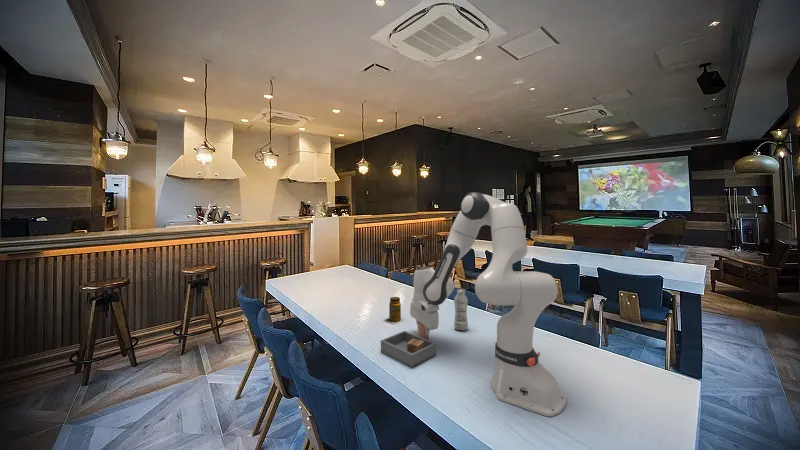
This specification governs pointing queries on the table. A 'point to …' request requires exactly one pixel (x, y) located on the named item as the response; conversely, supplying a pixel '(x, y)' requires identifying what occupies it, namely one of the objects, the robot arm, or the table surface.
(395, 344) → the tote
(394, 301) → the condiment
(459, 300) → the plastic bottle
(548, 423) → the table surface
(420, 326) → the terracotta cylinder
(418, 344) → the walnut cube
